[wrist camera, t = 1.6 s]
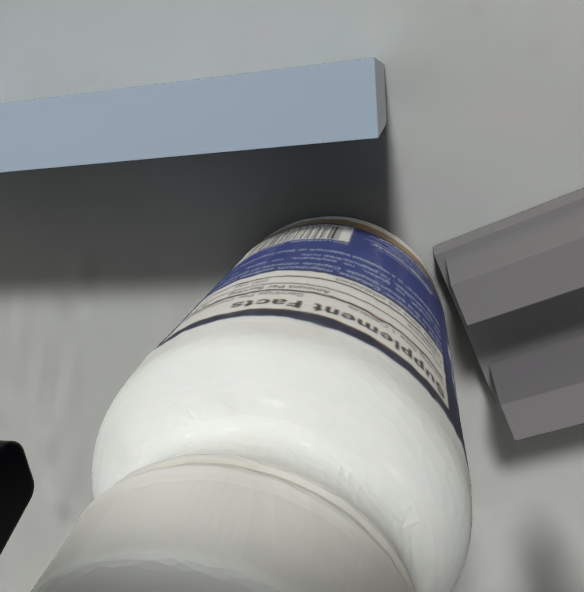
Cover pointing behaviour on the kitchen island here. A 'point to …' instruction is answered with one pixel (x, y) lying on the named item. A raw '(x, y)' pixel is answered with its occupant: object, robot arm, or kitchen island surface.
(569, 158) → the kitchen island surface
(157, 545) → the pill bottle
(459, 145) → the kitchen island surface
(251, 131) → the end holder
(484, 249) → the clip
